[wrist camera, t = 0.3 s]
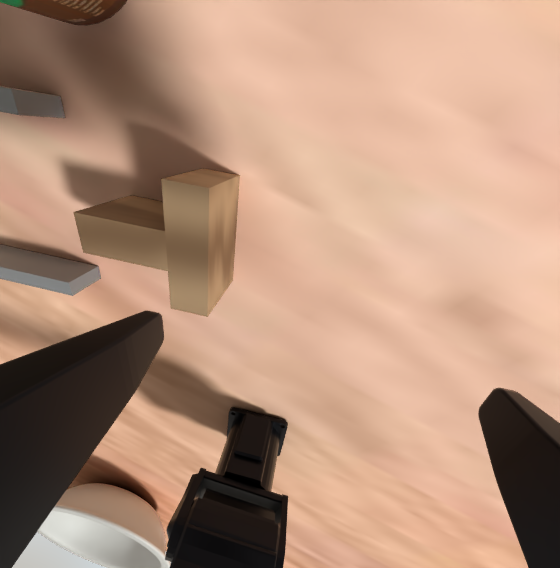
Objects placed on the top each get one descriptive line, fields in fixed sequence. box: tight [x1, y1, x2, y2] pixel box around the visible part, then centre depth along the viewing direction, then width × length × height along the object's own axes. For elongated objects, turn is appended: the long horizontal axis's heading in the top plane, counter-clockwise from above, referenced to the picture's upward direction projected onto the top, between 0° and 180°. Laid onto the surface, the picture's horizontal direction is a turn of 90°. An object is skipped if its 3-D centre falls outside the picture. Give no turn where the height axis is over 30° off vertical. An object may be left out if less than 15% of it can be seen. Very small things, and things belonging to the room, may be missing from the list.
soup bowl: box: [37, 483, 171, 568], centre depth 45 cm, size 24×24×7 cm
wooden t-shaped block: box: [74, 168, 240, 317], centre depth 18 cm, size 8×8×5 cm
